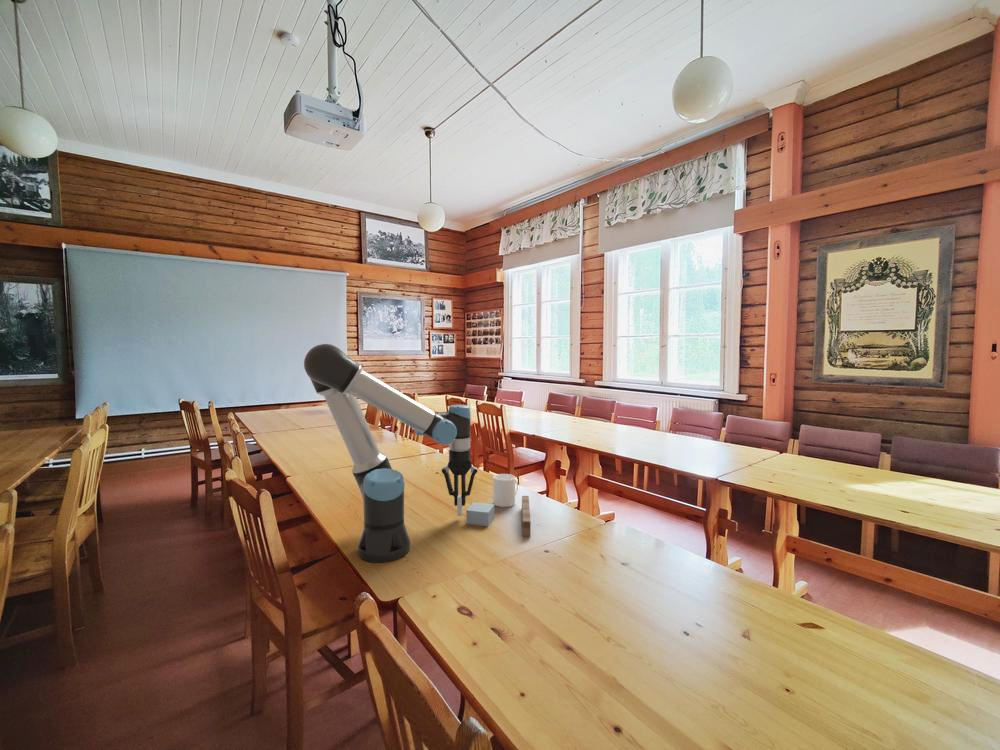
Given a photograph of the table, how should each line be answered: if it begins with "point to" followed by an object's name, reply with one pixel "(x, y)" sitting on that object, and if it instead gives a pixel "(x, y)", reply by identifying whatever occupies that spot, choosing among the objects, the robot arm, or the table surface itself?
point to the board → (525, 516)
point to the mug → (504, 490)
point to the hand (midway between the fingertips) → (459, 514)
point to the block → (480, 514)
